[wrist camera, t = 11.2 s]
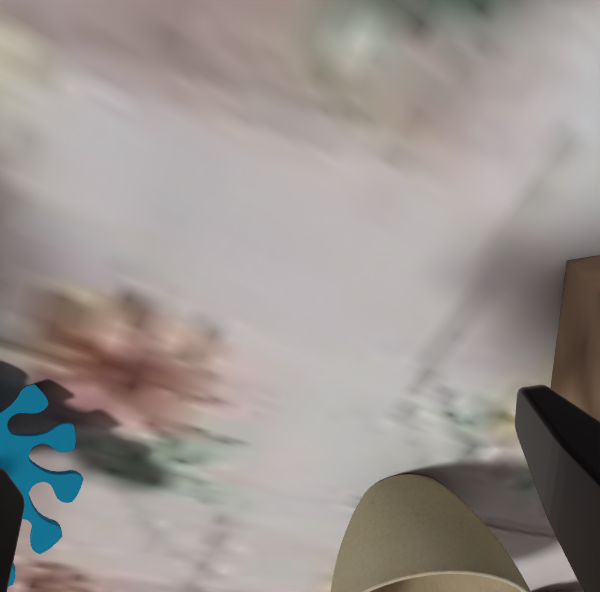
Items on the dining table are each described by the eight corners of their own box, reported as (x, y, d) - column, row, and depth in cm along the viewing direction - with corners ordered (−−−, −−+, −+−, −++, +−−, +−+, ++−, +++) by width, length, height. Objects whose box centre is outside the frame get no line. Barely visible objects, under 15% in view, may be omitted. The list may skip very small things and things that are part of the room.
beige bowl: (409, 415, 27) (447, 545, 21) (520, 492, 31) (579, 620, 25) (282, 509, 31) (285, 642, 25) (395, 567, 35) (421, 694, 29)
